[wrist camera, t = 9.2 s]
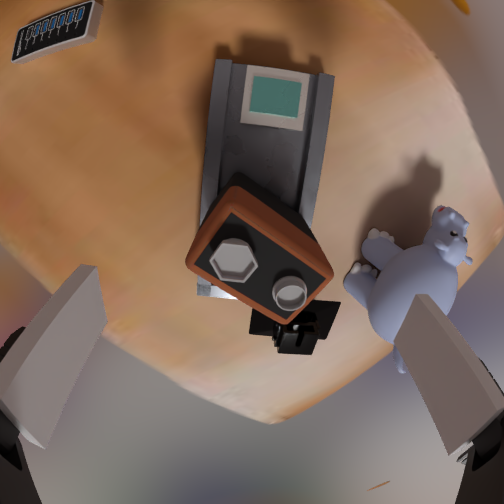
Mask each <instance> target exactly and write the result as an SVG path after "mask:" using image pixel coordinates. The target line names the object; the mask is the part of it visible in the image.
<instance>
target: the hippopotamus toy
mask: <svg viewBox="0 0 504 504" xmlns="http://www.w3.org/2000/svg"><path fill="white" fill-rule="evenodd" d="M468 226H469V223H468V222H467V221H466V220H465V219H464V217H463V216H462V215H461V214H459V213H458V212H457V211H455V210H454V209H452V208H450V207H445V206H442V205H440V206H438V207H437V208H436V209H435V210H434V212H433V215H432V226H431V227H430V228H429V230H428V231H427V233H426V235H425V237H424V240H423V244H422V245H418V246H414V247H411V248H408V249H406V250H403V249H401V248H400V247H398V246H397V245H395V244H394V237H393V236H389V234H388V233H387V232H386V231H381V232H379V231H378V230H377V229H375V228H373V229H371V230H370V231H369V233H368V237H367V239H366V240H365V241H364V242H363V244H362V248H361V251H362V254H363V256H364V257H365V259H367V260H368V261H369V262H370V263H372V264H373V265H374V266H376V267H377V268H378V269H379V270H381V273H380V275H379V276H378V278H377V279H376V276H377V270H376V269H373V270H372V267H371V266H370V265H363V266H361V264H360V263H355V264H354V266H353V267H352V269H351V271H350V273H349V274H348V275H347V276H346V278H345V280H344V288H345V289H346V291H347V292H349V293H350V294H351V295H352V296H353V297H354V298H355V299H356V300H357V301H358V302H359V303H360V304H362V305H363V306H364V307H365V308H366V309H367V310H368V315H369V319H370V323H371V325H372V327H373V329H374V330H375V332H376V333H377V334H378V335H379V336H380V337H381V338H383V339H384V340H386V341H388V342H390V343H392V344H393V345H394V348H393V358H394V362H395V365H396V367H397V369H398V371H399V372H400V373H405V372H406V371H405V370H404V369H403V358H402V357H401V355H400V353H399V351H398V349H397V347H396V346H395V344H394V342H393V341H394V339H395V337H396V335H397V333H398V331H399V329H400V327H401V325H402V323H403V321H404V319H405V316H406V314H407V312H408V310H409V308H410V306H411V303H412V301H413V299H414V297H415V294H428V295H429V296H430V297H431V298H432V299H433V301H434V302H435V303H436V304H437V305H438V307H439V308H440V309H441V310H442V311H443V313H444V314H445V315H446V316H447V314H448V313H449V311H450V309H451V307H452V305H453V302H454V299H455V296H456V292H457V286H458V274H457V269H456V266H458V265H459V264H460V263H461V262H462V261H465V262H466V263H467V264H468V265H471V264H472V259H471V258H470V257H467V256H466V252H467V247H468V243H467V238H465V235H466V231H467V227H468Z"/></svg>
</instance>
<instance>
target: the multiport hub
mask: <svg viewBox="0 0 504 504" xmlns="http://www.w3.org/2000/svg"><path fill="white" fill-rule="evenodd" d="M102 11H103V6H102V5H100V4H99V3H97V2H96V1H94V0H91V1H88V2H84V3H81V4H78V5H75V6H72V7H69V8H66V9H64V10H61V11H58V12H56V13H53V14H51V15H48V16H46V17H43V18H41V19H39V20H37V21H34V22H32V23H30V24H28V25H26V26H24V27H22V28H20V29H19V30H18V32H17V36H16V40H15V44H14V48H13V53H12V58H11V62H12V63H18V64H24V63H27V62H29V61H32V60H35V59H37V58H40V57H43V56H46V55H49V54H52V53H55V52H58V51H61V50H64V49H68V48H71V47H75V46H78V45H82V44H86V43H90V42H93V41H95V39H96V37H97V33H98V28H99V24H100V19H101V15H102Z"/></svg>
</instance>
